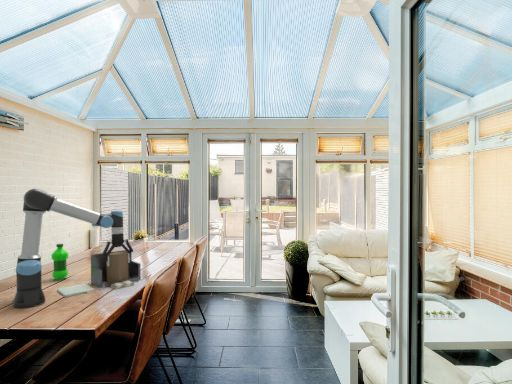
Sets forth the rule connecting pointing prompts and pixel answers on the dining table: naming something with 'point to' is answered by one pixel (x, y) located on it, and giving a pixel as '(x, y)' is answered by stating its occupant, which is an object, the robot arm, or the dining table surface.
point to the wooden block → (117, 267)
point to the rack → (101, 270)
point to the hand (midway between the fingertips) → (118, 264)
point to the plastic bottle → (59, 262)
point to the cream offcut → (122, 284)
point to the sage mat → (75, 290)
